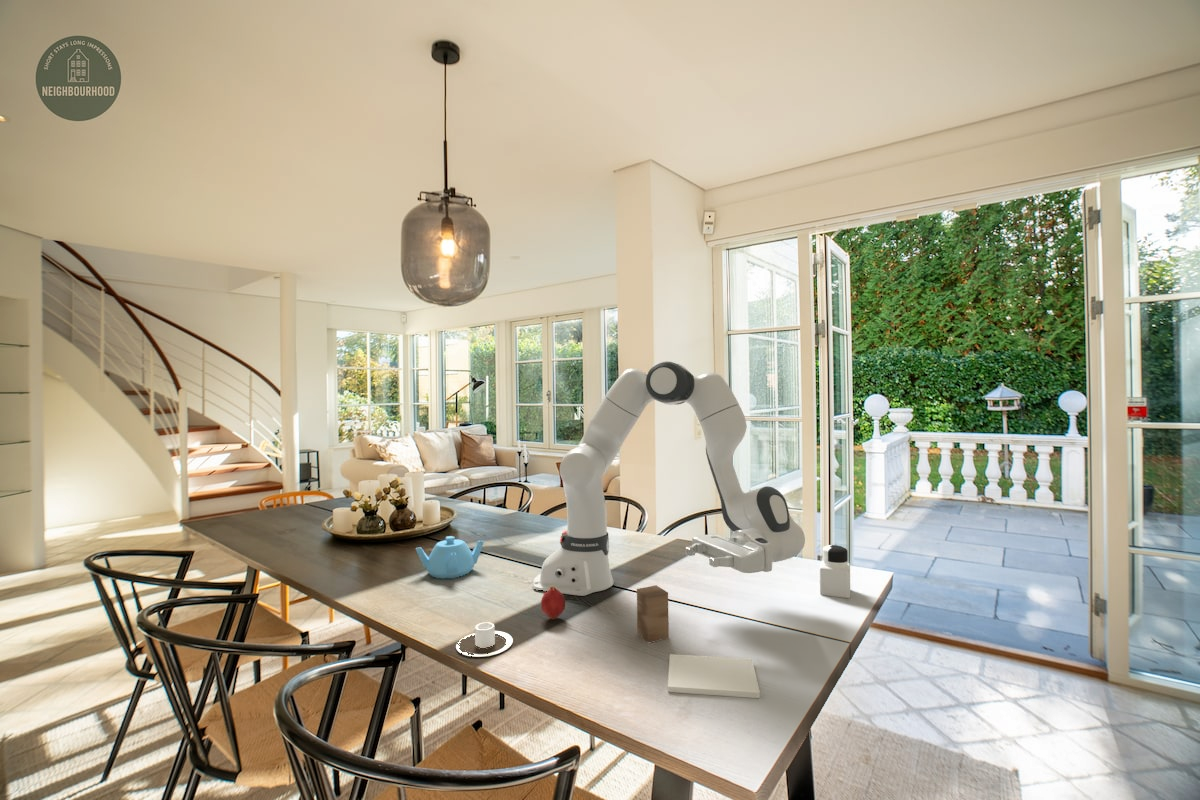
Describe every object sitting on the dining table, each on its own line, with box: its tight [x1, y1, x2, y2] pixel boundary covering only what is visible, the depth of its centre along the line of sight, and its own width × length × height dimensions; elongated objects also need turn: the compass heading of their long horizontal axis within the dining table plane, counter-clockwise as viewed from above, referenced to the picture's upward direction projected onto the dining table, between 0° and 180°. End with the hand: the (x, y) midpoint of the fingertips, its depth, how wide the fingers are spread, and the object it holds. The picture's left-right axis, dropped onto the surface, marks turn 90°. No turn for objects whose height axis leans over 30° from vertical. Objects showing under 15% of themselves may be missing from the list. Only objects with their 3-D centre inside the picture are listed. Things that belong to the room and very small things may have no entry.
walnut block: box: [636, 584, 670, 643], centre depth 120 cm, size 5×5×10 cm
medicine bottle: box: [819, 544, 851, 599], centre depth 143 cm, size 7×7×12 cm
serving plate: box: [667, 653, 761, 699], centre depth 102 cm, size 16×12×1 cm
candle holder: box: [455, 621, 514, 658], centre depth 117 cm, size 12×12×4 cm
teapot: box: [415, 535, 485, 579], centre depth 165 cm, size 15×15×11 cm
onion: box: [540, 586, 566, 620], centre depth 130 cm, size 6×6×8 cm
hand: (698, 557), depth 125 cm, fingers open, 8 cm apart
